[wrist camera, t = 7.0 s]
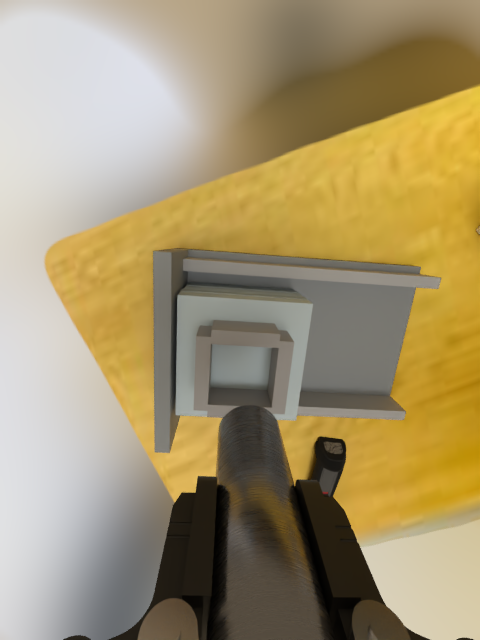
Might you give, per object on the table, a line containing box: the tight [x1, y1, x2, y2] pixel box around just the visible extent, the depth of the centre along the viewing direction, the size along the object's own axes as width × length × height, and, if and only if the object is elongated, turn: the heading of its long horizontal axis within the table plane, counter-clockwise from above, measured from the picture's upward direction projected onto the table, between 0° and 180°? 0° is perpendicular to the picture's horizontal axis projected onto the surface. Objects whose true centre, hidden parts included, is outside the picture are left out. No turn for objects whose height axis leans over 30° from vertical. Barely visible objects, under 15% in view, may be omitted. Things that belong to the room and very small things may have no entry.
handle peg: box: [206, 405, 335, 640], centre depth 8 cm, size 3×3×12 cm
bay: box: [153, 248, 441, 453], centre depth 26 cm, size 24×16×9 cm, turn 86°
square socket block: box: [176, 282, 313, 420], centre depth 24 cm, size 10×10×10 cm
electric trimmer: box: [311, 437, 346, 497], centre depth 35 cm, size 4×16×3 cm, turn 169°
